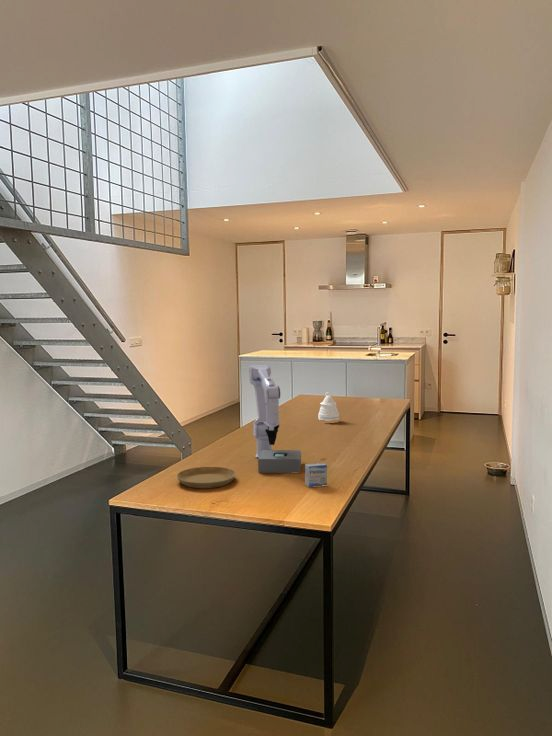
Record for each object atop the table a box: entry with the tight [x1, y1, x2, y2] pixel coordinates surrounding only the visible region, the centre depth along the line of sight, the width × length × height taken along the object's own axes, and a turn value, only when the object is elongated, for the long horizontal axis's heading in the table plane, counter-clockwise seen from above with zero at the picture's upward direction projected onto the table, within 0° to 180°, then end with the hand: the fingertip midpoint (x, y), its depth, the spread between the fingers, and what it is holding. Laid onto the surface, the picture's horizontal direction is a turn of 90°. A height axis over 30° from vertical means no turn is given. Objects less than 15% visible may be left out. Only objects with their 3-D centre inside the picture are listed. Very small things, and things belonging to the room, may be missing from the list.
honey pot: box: [317, 392, 340, 421], centre depth 356 cm, size 13×13×18 cm
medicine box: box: [304, 462, 328, 488], centre depth 229 cm, size 8×4×9 cm, turn 105°
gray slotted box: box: [257, 449, 302, 474], centre depth 255 cm, size 16×18×6 cm
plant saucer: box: [176, 466, 237, 489], centre depth 237 cm, size 24×24×3 cm
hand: (272, 442), depth 259 cm, fingers open, 7 cm apart
